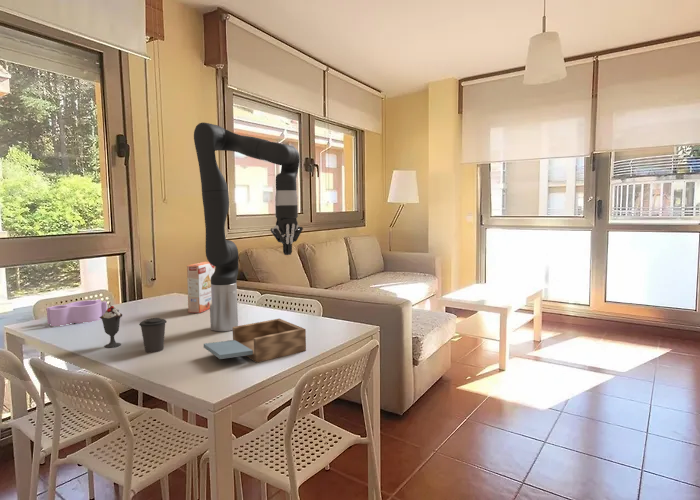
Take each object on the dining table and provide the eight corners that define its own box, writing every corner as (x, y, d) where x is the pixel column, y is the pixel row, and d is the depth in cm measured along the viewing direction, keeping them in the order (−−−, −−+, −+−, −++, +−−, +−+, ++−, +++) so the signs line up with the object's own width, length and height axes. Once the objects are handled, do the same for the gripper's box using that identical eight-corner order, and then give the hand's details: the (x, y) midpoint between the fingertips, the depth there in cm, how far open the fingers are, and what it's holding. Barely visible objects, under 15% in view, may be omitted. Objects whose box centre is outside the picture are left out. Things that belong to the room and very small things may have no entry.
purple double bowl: (54, 329, 166) (53, 311, 166) (44, 323, 174) (43, 306, 174) (110, 318, 181) (109, 302, 181) (98, 314, 190) (97, 298, 189)
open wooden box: (279, 338, 152) (279, 318, 152) (305, 350, 139) (305, 329, 138) (233, 348, 142) (232, 327, 141) (256, 362, 129) (255, 339, 128)
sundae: (108, 350, 141) (105, 304, 139) (97, 346, 144) (94, 301, 143) (128, 344, 146) (125, 300, 145) (116, 341, 150) (114, 298, 149)
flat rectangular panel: (234, 339, 140) (203, 343, 134) (252, 350, 130) (220, 354, 123) (234, 347, 140) (203, 351, 134) (252, 358, 130) (219, 363, 124)
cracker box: (200, 313, 188) (198, 265, 186) (187, 313, 190) (185, 265, 187) (216, 306, 202) (215, 261, 200) (204, 305, 203) (203, 261, 201)
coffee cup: (140, 355, 136) (138, 323, 135) (140, 347, 143) (139, 317, 142) (168, 351, 139) (166, 321, 138) (167, 344, 146) (166, 315, 145)
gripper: (294, 204, 157) (295, 252, 159) (264, 204, 147) (265, 255, 149) (308, 204, 152) (309, 253, 154) (278, 204, 142) (279, 257, 144)
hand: (287, 254), depth 151 cm, fingers closed
